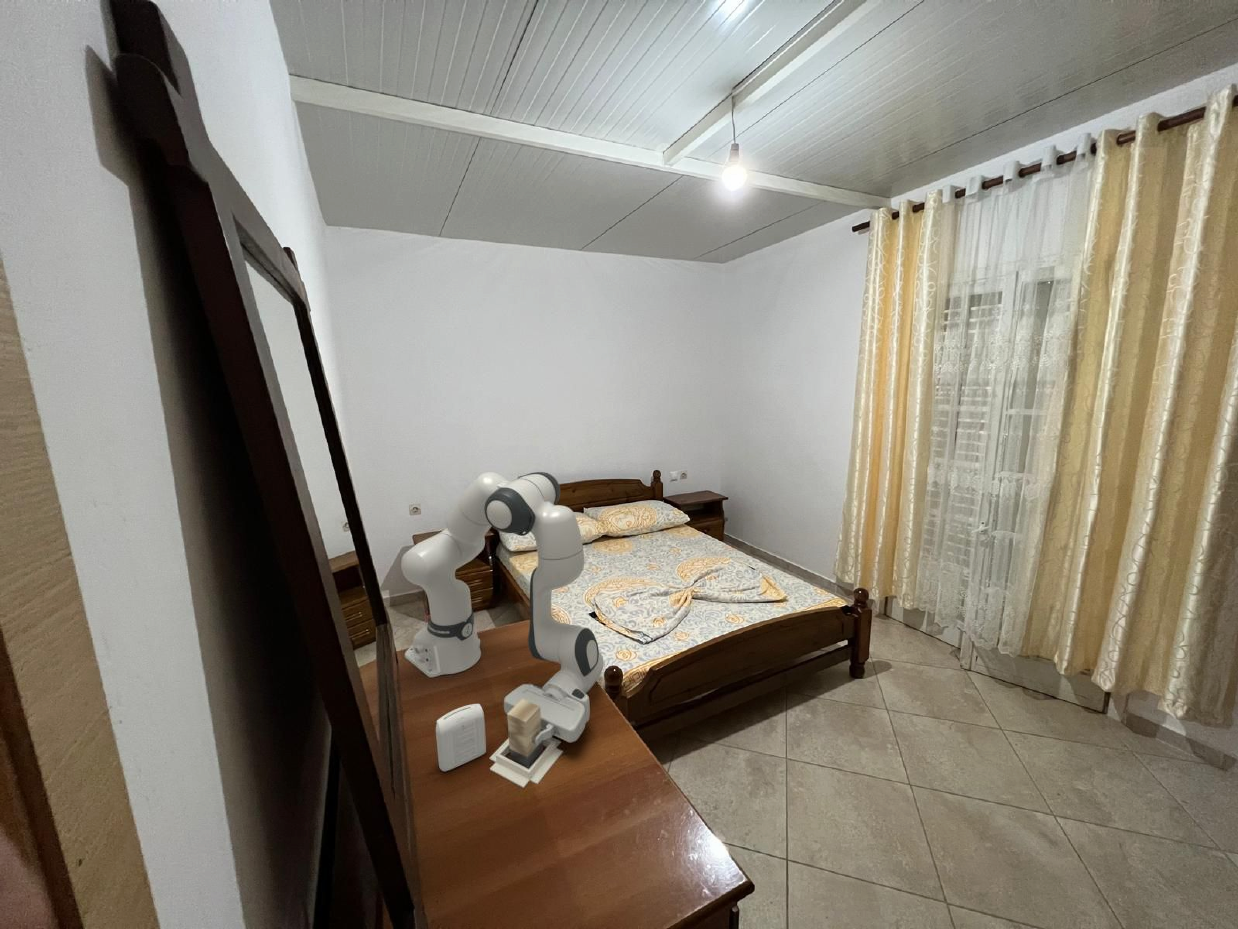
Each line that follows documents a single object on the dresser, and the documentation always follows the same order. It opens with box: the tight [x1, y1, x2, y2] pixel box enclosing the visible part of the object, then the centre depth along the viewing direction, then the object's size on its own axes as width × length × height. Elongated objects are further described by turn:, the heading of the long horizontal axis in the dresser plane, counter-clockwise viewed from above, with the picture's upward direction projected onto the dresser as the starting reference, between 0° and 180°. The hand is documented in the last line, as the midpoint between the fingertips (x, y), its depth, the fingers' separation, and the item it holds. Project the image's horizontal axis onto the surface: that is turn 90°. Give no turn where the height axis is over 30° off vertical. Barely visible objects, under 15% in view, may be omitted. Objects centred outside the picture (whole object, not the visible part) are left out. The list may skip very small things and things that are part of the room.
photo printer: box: [435, 703, 487, 772], centre depth 103 cm, size 10×4×12 cm, turn 123°
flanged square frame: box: [489, 736, 564, 789], centre depth 105 cm, size 13×13×2 cm
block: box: [506, 699, 543, 769], centre depth 104 cm, size 5×5×12 cm
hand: (522, 736), depth 103 cm, fingers closed on block, 5 cm apart
